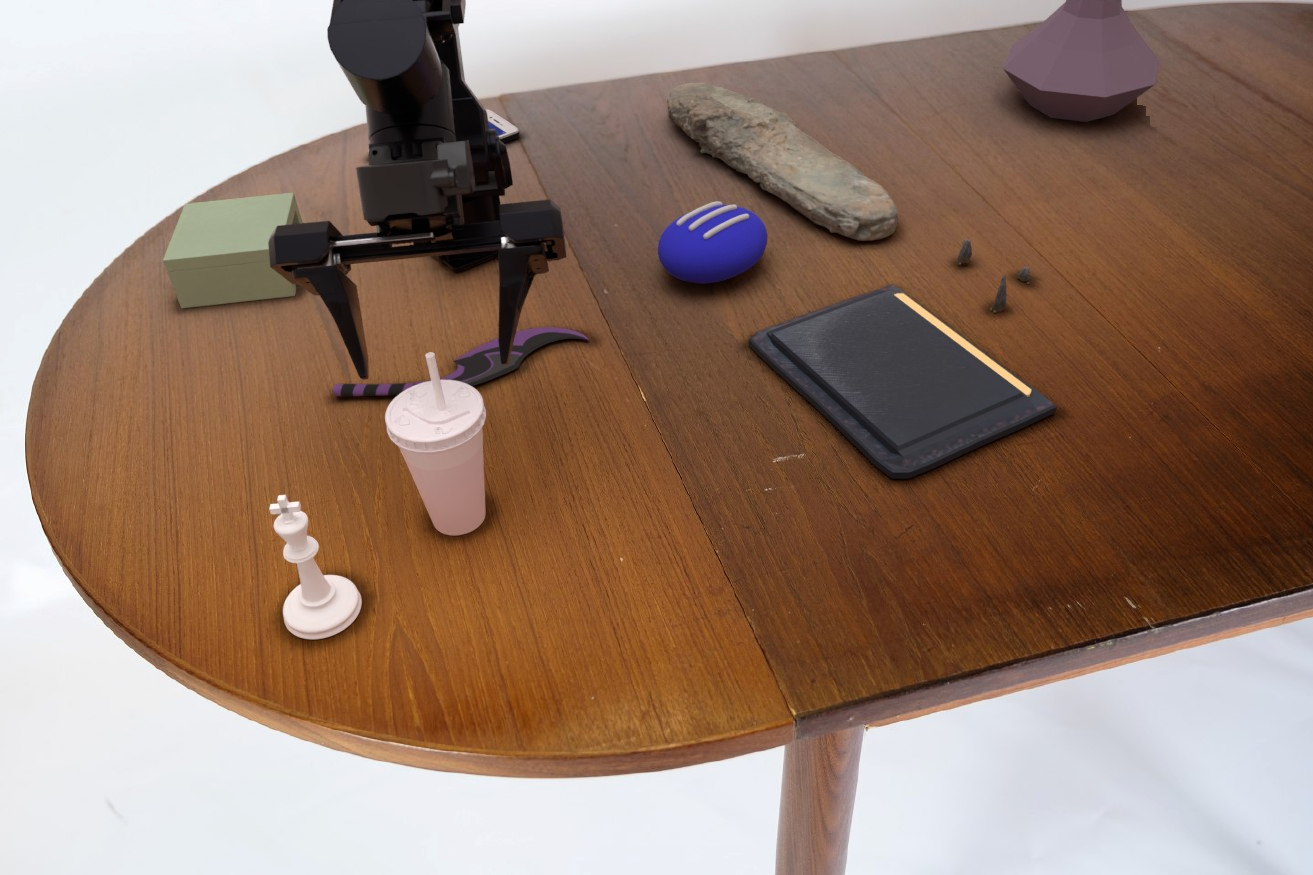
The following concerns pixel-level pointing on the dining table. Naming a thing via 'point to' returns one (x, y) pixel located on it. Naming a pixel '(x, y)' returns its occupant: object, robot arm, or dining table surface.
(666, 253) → the decorative object
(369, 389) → the knife
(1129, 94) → the flask
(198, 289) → the green box
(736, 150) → the long grey stone
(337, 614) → the chess piece
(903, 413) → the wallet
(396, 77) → the robot arm
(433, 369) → the smoothie
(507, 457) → the dining table surface
